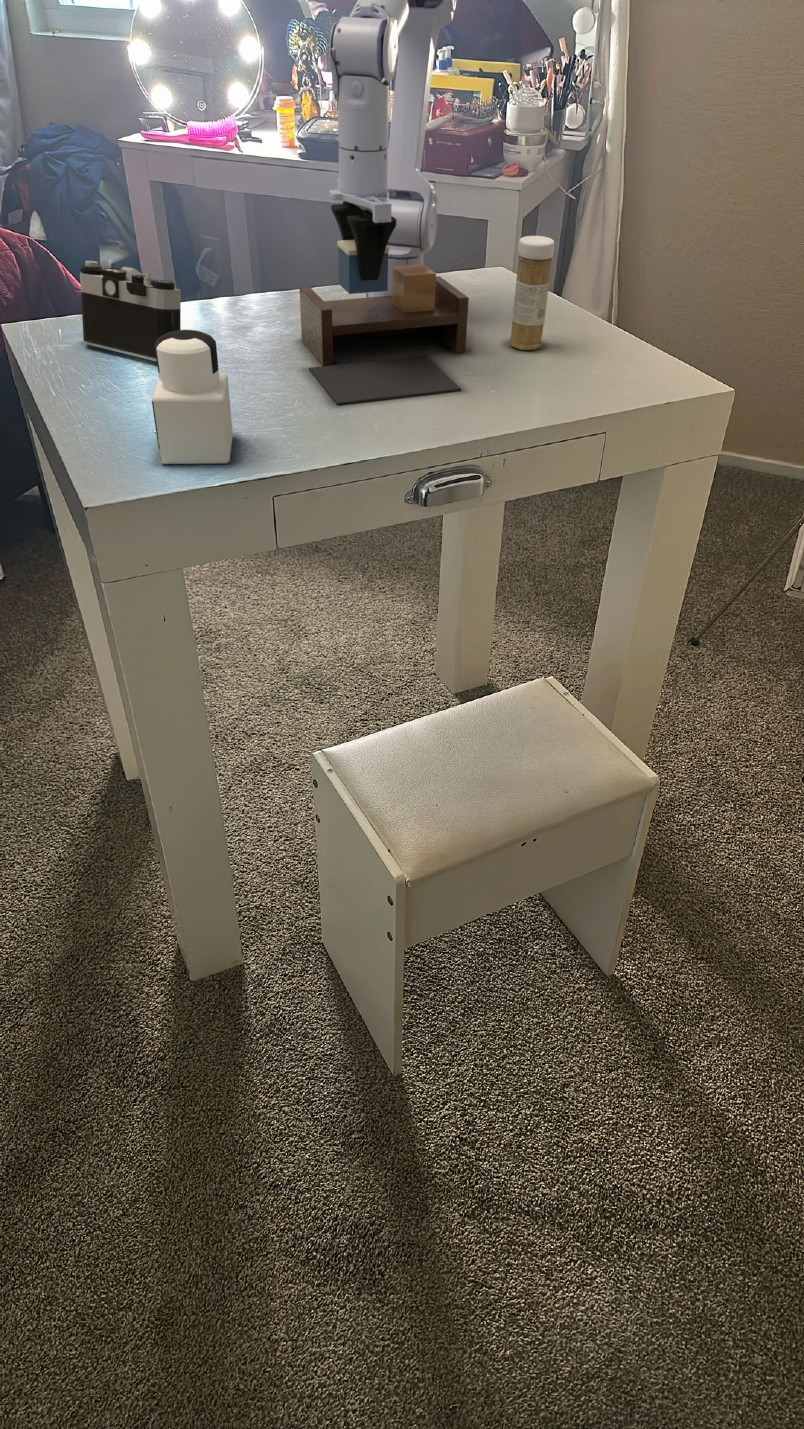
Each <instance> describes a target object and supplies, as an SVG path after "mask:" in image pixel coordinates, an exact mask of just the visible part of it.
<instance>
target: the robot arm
mask: <svg viewBox="0 0 804 1429" xmlns="http://www.w3.org/2000/svg"><path fill="white" fill-rule="evenodd" d="M456 6H457V0H356V2H355V4H354V6H353V8H352V10H351V12H350V14H349V15H348V16H342V17H341V18H339V21H335V22H333V24H332V27H331V30H330V35H329V46H328V47H329V49H328V54H329V56H328V57H329V65H330V71H331V75H332V84H333V85H332V86H333V88H332V89H333V91H332V92H333V97H334V99H336V100H337V134H338V135H337V137H338V138H337V141H338V142H337V143H338V144H337V145H338V148H337V149H338V178H336V181H337V183H336V189H329V191H328V195H329V196H328V197H329V198H330V199H332V200H334V201H342V203H337V204H332V205H331V206H330V209H331V212H332V214H333V216H334V218H335V220H336V223H337V226H338V228H339V231H340V232H339V233H340V236H341V241H342V240H355V245H356V250H357V259H358V268H359V273H360V277H361V280H363V281H366V280H378V278H379V274H380V270H381V266H382V261H383V257H384V253H385V249H386V246H387V247H389V253H388V290H387V291H381V292H368V293H364V294H365V296H364V298H369V297H381V296H392V282H393V267H394V266H408V265H421V264H424V257H425V256H424V254H425V253H427V252H429V251H430V250H431V249H432V248H433V246H434V244H435V240H436V237H437V236H436V235H437V230H438V201H439V198H438V195H437V191H436V189H435V187H434V185H433V184H432V183H431V182H430V181H429V180H428V179H427V178H426V177H425V176H424V175H423V174H422V173H421V171H422V164H423V155H424V145H425V138H426V129H427V122H428V121H427V120H428V119H427V118H428V112H429V102H430V95H431V85H432V78H433V70H434V60H435V54H436V47H437V43H438V39H439V35H440V30H441V29H443V27H446V26H447V25H449V24H450V23H452V21H453V20H454V12H455V10H456ZM395 71H396V72H395ZM394 76H395V82H394V83H395V84H394V91H393V101H392V110H391V119H390V128H389V118H390V117H389V115H390V114H389V113H390V112H389V111H390V110H389V109H390V108H389V106H390V104H389V103H390V83H391V82H392V81H393V79H394Z"/></svg>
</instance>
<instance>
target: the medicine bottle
mask: <svg viewBox="0 0 804 1429" xmlns="http://www.w3.org/2000/svg"><path fill="white" fill-rule="evenodd" d="M154 346H155V353H156V360H157V361H156V367H157V373H158V377H157V380H156V384H155V386H154V390H153V393H152V396H151V406H152V412H153V419H154V420H153V421H154V427H155V433H156V441H157V447H158V452H159V460H160V463H161V464H163V465H202V464H203V465H206V464H209V465H212V464H214V465H215V464H216V465H217V464H221V465H222V464H228V463H229V462H230V460H231V454H232V453H231V452H232V444H233V439H234V438H233V437H234V431H233V421H232V409H231V399H230V398H231V397H230V387H229V378H228V374H227V372H220V370H219V369H220V368H219V359H218V358H219V357H218V348H217V342H216V340H215V338H214V337H212V335H210V334H208V333H205V332H203V331H199V330H194V329H181V330H177V331H172V332H168V333H166V334H164V335H162V336H160V337H159V338H158V339H157V340H156V342H155V344H154Z"/></svg>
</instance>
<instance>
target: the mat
mask: <svg viewBox="0 0 804 1429" xmlns="http://www.w3.org/2000/svg"><path fill="white" fill-rule="evenodd" d="M308 371H309V372H310V373H311V375H312V376H313V377H314V378H315V379H316V381H317V383H319V384H320V386H321V387H322V388H323V389H324V391H325V392H326V393H327V394H328V396H329V397H330V398H331V399H332V401H333V402H334V403H335V404H336V406H343V405H351V404H352V405H353V404H360V403H367V402H368V403H369V402H377V401H386V400H392V399H401V398H411V397H419V396H428V395H429V396H430V395H435V394H436V395H437V394H445V393H455V392H461V391H462V388H461V387H460V386H459V385H458V384H457V383H456V382H455V381H453V380H452V378H451V377H450V376H449V375H447V374H446V373H445V372H444V371H443V370H442V369H441V368H439V367H438V366H437V365H436V363H434V362H433V361H432V360H431V359H430V358H429V357H428V356H427V355H418V356H416V355H415V356H409V357H398V358H390V359H389V358H388V359H380V360H369V361H361V362H349V363H342V364H333V365H330V366H322V365H320V366H311V367H308Z"/></svg>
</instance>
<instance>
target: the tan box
mask: <svg viewBox="0 0 804 1429" xmlns="http://www.w3.org/2000/svg"><path fill="white" fill-rule="evenodd" d="M436 277H437V273H436V272H435V271H434V270H432V269H431V268H430V267H428V266H427V265H426V264H424V263H423V264H421V265H408V266H394V267H393V282H392V304H394V305H395V306H396V307H397V308H398V309H399V310H400V311H402V312H403V313H412V312H423V311H434V309H435V289H436Z"/></svg>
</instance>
